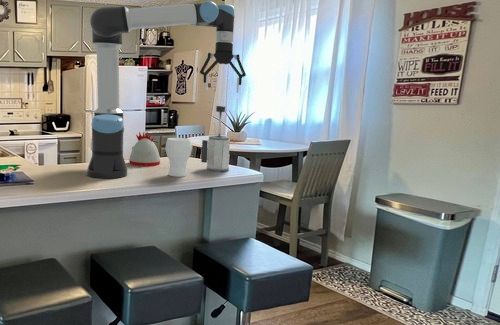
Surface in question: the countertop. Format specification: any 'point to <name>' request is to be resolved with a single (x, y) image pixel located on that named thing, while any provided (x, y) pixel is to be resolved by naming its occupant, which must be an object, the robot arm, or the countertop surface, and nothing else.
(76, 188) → the countertop surface
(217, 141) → the carafe
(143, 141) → the grey and red dome
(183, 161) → the cup
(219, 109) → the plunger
